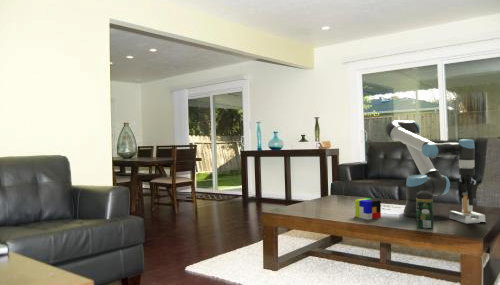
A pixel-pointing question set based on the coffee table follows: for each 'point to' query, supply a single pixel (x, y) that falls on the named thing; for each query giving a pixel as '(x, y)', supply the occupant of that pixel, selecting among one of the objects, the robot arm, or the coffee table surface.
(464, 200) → the orange cylindrical piece
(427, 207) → the coffee jar
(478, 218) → the white ridged tray
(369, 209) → the puzzle toy
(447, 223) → the coffee table surface
